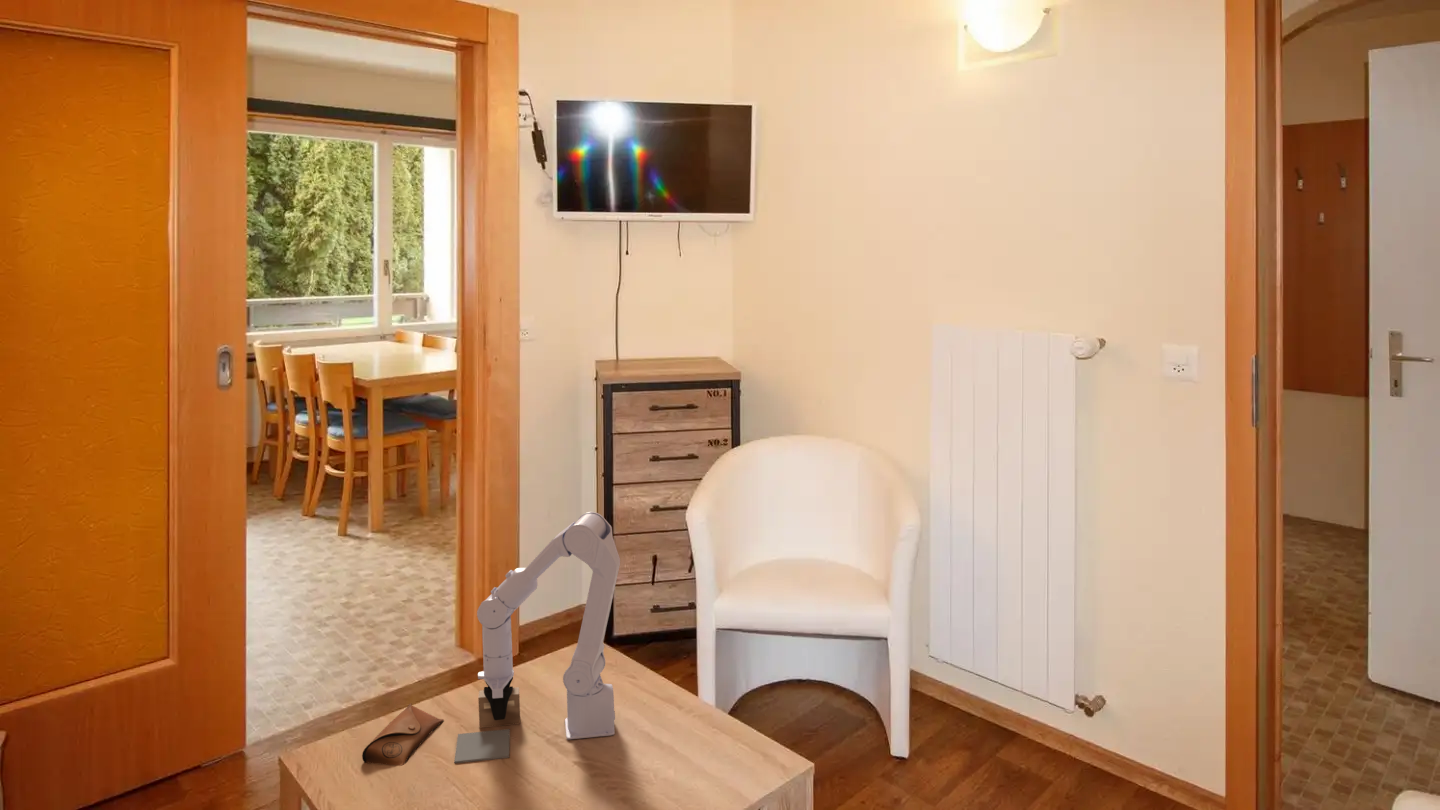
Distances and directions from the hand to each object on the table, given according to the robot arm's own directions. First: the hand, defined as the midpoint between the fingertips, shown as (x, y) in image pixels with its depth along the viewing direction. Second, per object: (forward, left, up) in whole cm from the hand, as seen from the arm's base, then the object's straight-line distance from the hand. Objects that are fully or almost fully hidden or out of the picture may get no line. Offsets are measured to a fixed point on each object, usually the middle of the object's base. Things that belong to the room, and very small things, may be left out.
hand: (499, 714), depth 186 cm
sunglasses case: (+18, +4, -2) cm, 18 cm away
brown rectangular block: (0, 0, -2) cm, 2 cm away
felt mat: (+3, +9, -2) cm, 10 cm away
